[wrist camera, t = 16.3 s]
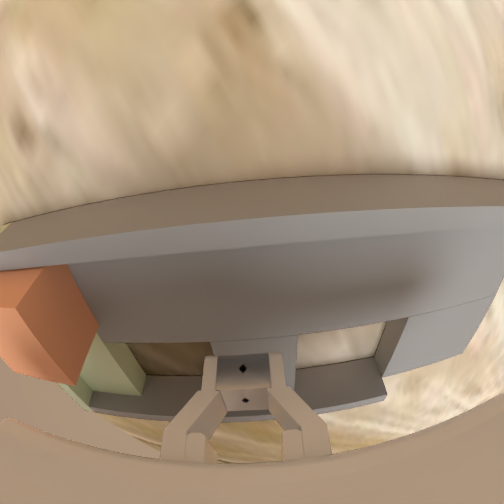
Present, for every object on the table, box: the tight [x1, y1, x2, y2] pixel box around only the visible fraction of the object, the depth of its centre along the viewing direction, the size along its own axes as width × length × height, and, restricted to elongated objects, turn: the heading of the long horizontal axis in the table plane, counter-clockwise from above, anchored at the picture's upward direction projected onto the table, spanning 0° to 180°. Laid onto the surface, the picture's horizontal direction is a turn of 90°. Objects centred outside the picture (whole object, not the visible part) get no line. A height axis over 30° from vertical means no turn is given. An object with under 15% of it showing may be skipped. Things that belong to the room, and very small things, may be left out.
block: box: [0, 264, 99, 386], centre depth 10 cm, size 5×5×4 cm
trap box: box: [0, 174, 504, 422], centre depth 14 cm, size 15×31×4 cm, turn 95°
